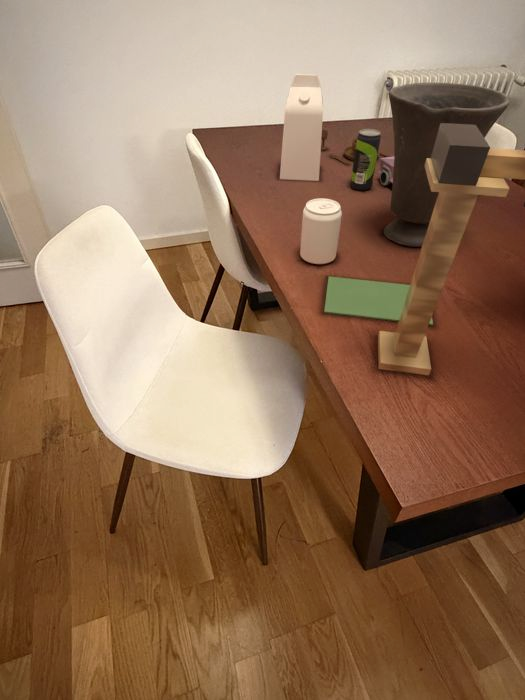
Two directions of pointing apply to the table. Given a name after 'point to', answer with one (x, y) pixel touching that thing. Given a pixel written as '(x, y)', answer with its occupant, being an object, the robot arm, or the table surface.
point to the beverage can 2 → (365, 159)
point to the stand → (432, 271)
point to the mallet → (472, 157)
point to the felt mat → (366, 298)
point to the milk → (302, 129)
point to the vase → (429, 145)
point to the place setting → (348, 151)
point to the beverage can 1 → (320, 230)
